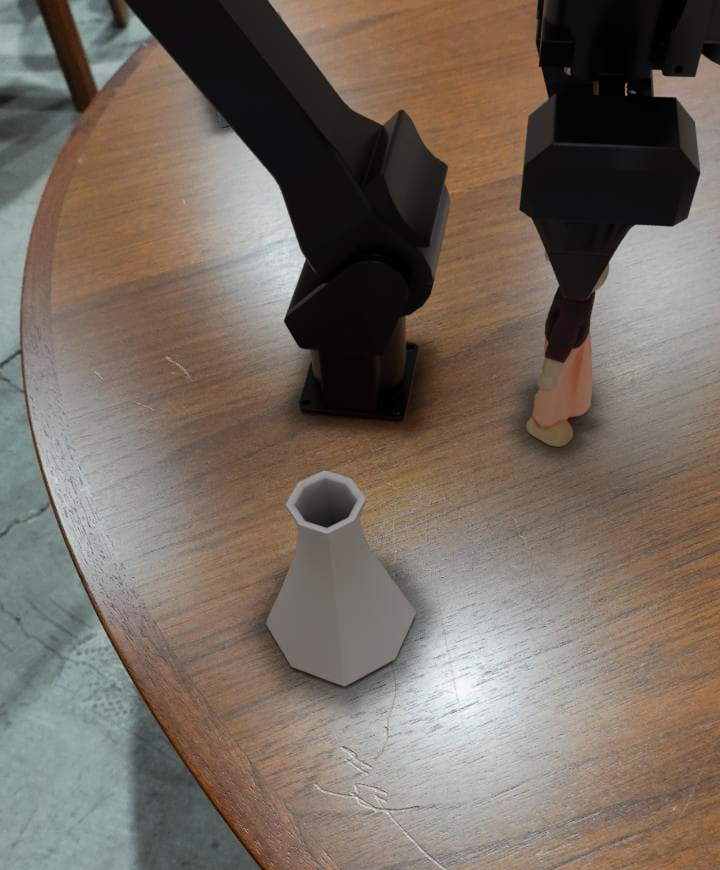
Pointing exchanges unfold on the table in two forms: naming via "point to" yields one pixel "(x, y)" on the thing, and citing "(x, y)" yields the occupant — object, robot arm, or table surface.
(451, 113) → the table surface
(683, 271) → the table surface
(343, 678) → the flask
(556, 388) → the grandmother figurine
